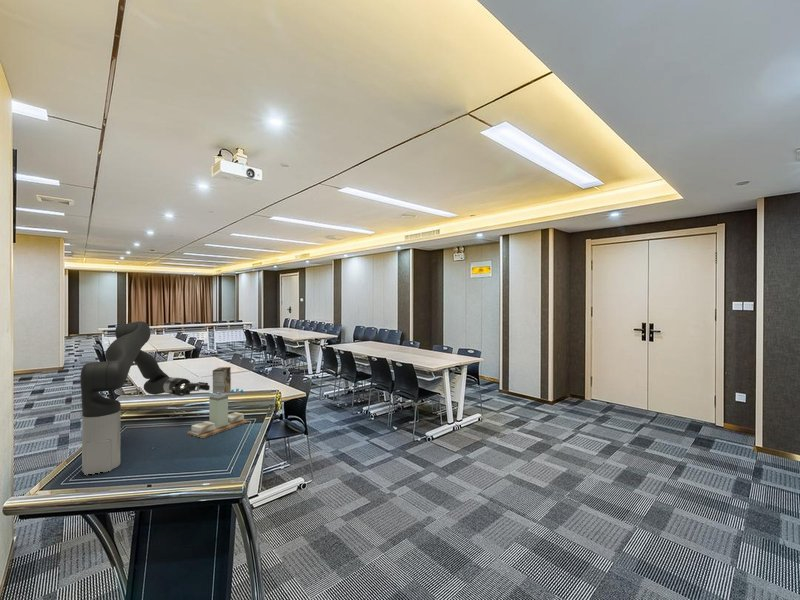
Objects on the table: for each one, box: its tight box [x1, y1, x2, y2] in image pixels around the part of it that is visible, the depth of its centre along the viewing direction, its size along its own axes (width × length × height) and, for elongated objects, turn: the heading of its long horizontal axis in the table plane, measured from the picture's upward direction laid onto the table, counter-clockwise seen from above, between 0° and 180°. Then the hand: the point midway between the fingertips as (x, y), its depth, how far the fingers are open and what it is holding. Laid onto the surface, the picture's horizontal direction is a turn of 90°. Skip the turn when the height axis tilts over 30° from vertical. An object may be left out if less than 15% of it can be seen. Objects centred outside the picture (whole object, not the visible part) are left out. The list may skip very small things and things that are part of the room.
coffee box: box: [212, 366, 232, 394], centre depth 194 cm, size 9×6×16 cm
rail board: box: [187, 411, 249, 439], centre depth 146 cm, size 20×10×4 cm, turn 152°
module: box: [208, 394, 229, 428], centre depth 146 cm, size 4×6×12 cm
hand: (199, 389), depth 151 cm, fingers open, 8 cm apart
